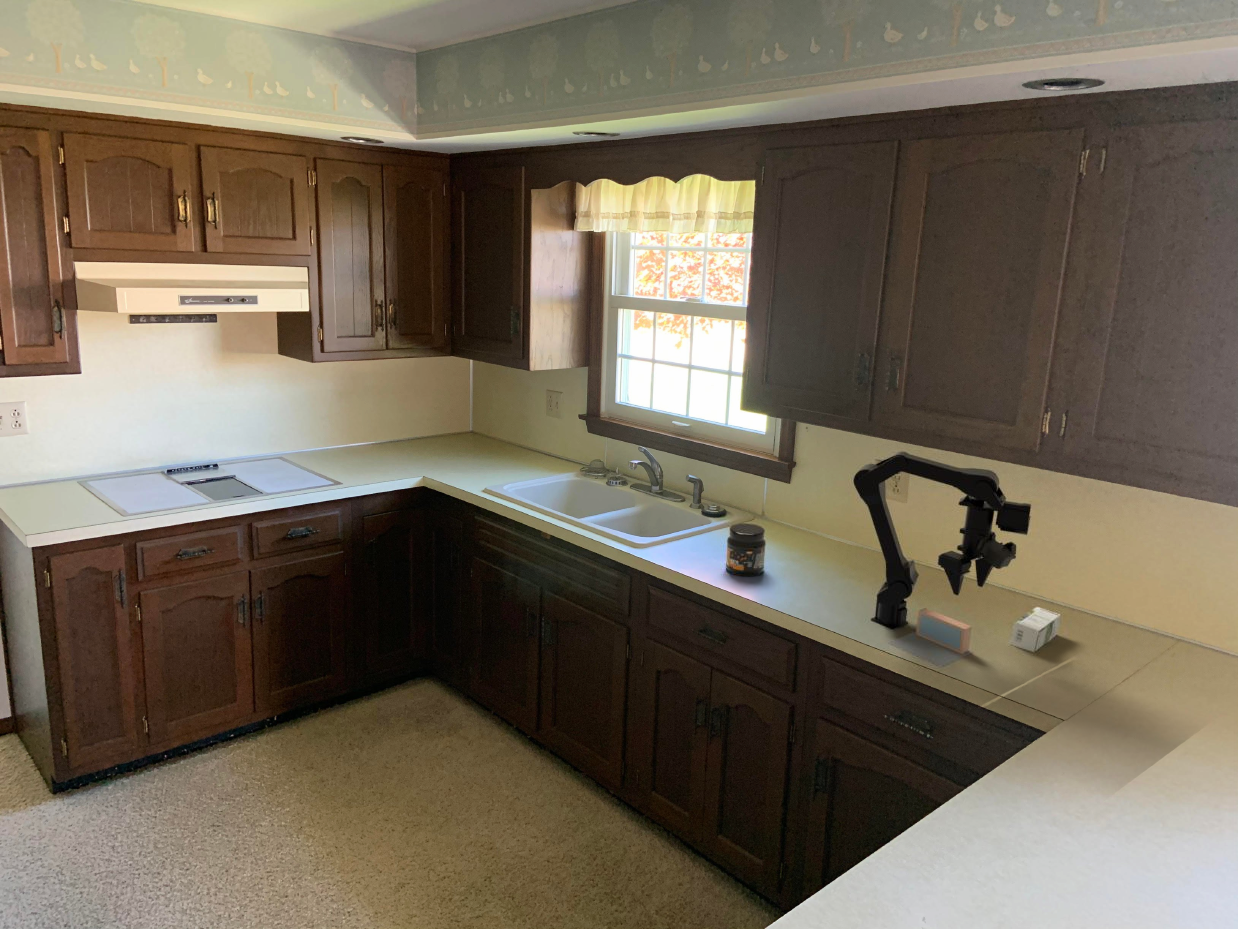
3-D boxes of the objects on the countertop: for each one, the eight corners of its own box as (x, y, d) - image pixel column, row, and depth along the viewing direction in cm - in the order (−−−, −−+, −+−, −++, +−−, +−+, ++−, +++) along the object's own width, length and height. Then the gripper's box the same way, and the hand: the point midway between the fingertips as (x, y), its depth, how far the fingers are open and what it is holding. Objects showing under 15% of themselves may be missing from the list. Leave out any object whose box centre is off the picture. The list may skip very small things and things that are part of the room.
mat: (887, 644, 206) (887, 642, 206) (919, 631, 213) (919, 629, 213) (941, 668, 195) (941, 667, 195) (972, 654, 202) (972, 652, 202)
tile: (915, 634, 210) (918, 610, 209) (922, 631, 212) (925, 607, 210) (961, 654, 201) (964, 629, 200) (968, 651, 203) (971, 626, 201)
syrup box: (1008, 644, 207) (1031, 627, 217) (1035, 654, 203) (1056, 636, 213) (1013, 621, 205) (1036, 605, 216) (1040, 631, 201) (1061, 614, 212)
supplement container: (717, 567, 249) (719, 526, 246) (746, 560, 255) (749, 520, 252) (742, 580, 241) (745, 537, 238) (772, 572, 247) (775, 531, 243)
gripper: (985, 544, 191) (975, 612, 195) (1034, 530, 202) (1023, 594, 206) (940, 529, 200) (931, 594, 204) (990, 515, 210) (980, 578, 215)
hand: (968, 590), depth 207 cm, fingers open, 9 cm apart
